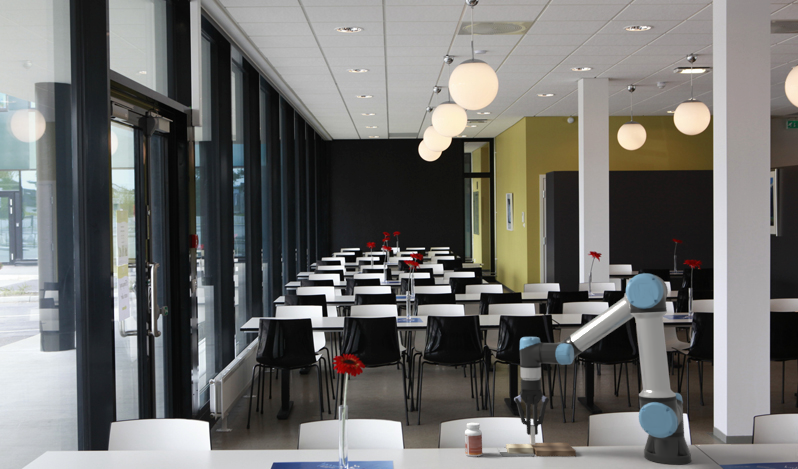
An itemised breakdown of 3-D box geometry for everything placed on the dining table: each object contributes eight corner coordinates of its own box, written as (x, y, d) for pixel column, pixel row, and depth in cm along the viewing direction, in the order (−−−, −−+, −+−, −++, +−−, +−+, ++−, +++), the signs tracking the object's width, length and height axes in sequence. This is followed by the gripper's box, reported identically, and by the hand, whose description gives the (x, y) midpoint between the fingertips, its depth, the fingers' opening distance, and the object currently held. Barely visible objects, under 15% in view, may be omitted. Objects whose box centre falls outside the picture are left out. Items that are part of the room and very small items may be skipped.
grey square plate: (528, 448, 230) (528, 447, 230) (535, 456, 218) (535, 455, 218) (497, 448, 230) (497, 447, 230) (501, 456, 218) (501, 455, 218)
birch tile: (530, 449, 227) (530, 443, 227) (533, 453, 221) (533, 447, 221) (506, 449, 227) (505, 444, 227) (508, 453, 221) (508, 447, 221)
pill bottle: (485, 454, 221) (485, 423, 222) (475, 458, 217) (474, 426, 218) (472, 451, 225) (472, 421, 227) (461, 455, 221) (461, 423, 222)
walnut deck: (567, 448, 230) (567, 442, 230) (575, 456, 218) (575, 450, 218) (530, 448, 230) (530, 442, 230) (536, 456, 218) (536, 450, 218)
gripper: (546, 377, 231) (548, 441, 228) (511, 377, 231) (513, 441, 228) (550, 380, 223) (552, 446, 221) (515, 380, 223) (516, 446, 221)
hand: (532, 443), depth 225 cm, fingers closed
